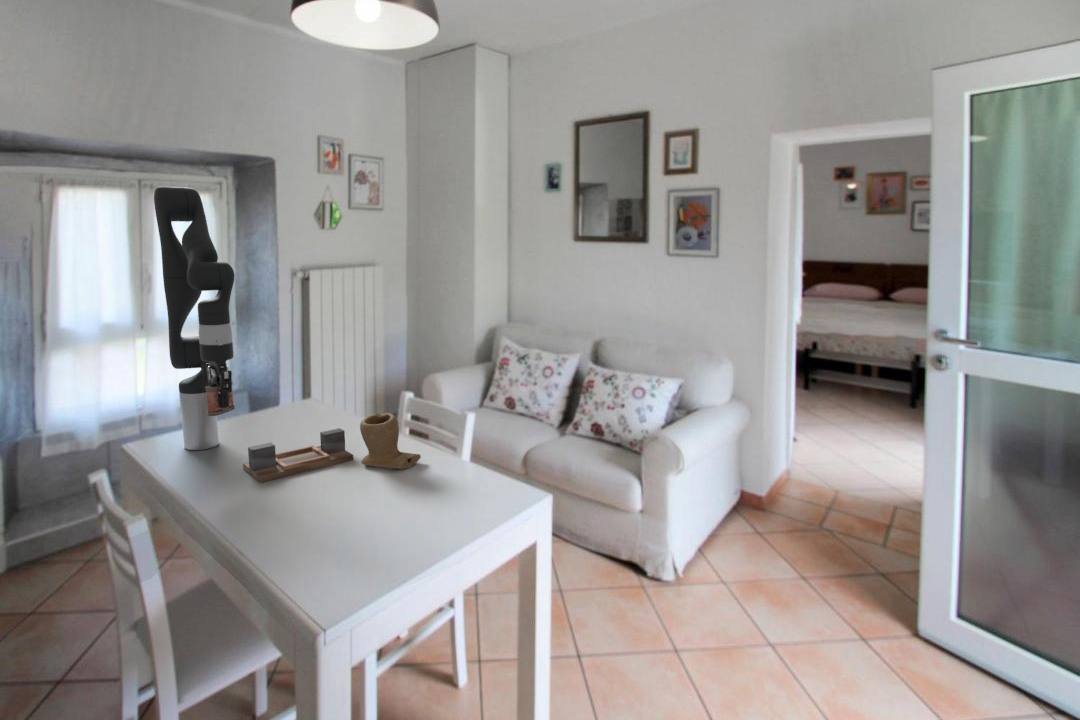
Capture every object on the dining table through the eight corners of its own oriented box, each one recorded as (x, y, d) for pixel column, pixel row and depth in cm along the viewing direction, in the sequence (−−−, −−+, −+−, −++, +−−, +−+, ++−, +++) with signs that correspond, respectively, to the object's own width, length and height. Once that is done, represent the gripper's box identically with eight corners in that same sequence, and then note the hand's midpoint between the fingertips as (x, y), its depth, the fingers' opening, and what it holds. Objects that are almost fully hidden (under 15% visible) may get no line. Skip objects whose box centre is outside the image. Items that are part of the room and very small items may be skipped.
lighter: (215, 416, 158) (212, 378, 156) (204, 415, 159) (200, 377, 157) (237, 408, 166) (234, 372, 164) (227, 407, 166) (224, 371, 164)
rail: (243, 468, 170) (241, 442, 169) (333, 447, 188) (332, 424, 187) (260, 482, 161) (259, 455, 160) (353, 459, 179) (352, 434, 177)
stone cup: (352, 470, 171) (350, 418, 168) (375, 455, 183) (373, 406, 180) (401, 477, 167) (400, 424, 164) (421, 462, 178) (421, 412, 175)
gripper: (192, 338, 161) (197, 401, 164) (208, 346, 151) (213, 414, 154) (223, 335, 166) (227, 397, 169) (240, 343, 156) (245, 408, 159)
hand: (221, 404), depth 162 cm, fingers closed on lighter, 4 cm apart
